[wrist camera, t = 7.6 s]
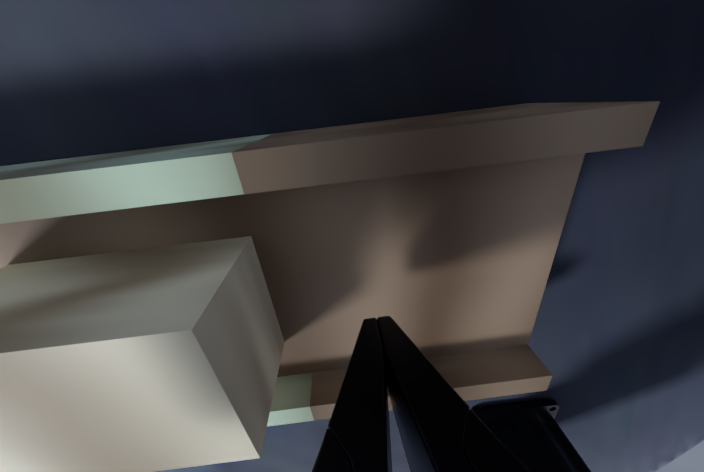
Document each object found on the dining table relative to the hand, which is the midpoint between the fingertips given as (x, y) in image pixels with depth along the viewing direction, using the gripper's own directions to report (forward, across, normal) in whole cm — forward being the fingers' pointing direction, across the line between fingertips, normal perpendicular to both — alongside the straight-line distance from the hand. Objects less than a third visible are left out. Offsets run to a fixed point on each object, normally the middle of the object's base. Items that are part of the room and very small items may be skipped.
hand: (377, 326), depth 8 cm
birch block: (+2, +8, 0) cm, 8 cm away
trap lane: (+5, +7, 0) cm, 8 cm away
